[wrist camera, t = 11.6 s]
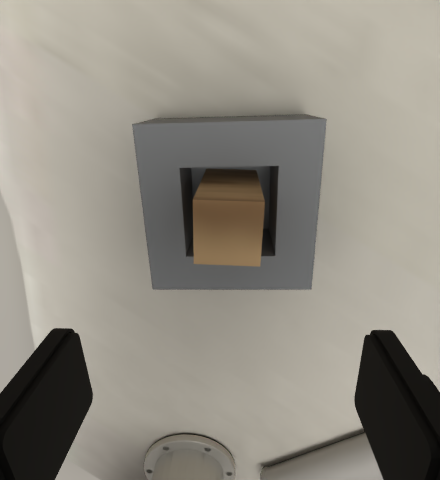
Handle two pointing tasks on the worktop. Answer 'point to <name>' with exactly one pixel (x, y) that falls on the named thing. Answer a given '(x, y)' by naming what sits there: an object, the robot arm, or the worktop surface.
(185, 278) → the socket
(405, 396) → the robot arm
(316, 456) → the tube
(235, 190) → the peg
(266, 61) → the worktop surface
